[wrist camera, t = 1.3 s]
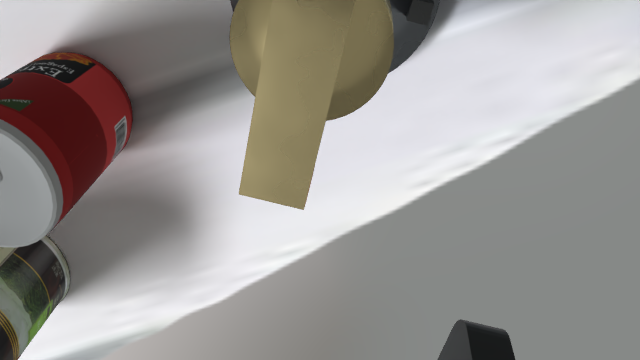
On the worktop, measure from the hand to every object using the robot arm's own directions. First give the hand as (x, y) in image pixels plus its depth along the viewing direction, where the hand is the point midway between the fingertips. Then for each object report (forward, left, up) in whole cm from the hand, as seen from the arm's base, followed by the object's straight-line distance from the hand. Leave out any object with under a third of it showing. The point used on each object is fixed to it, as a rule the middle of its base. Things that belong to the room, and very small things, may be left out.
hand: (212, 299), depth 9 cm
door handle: (+1, 0, -18) cm, 18 cm away
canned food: (+12, -15, -28) cm, 34 cm away
